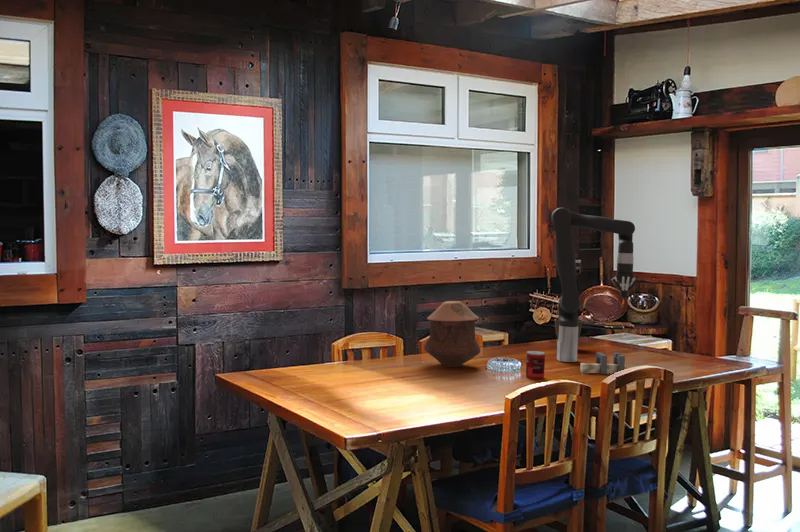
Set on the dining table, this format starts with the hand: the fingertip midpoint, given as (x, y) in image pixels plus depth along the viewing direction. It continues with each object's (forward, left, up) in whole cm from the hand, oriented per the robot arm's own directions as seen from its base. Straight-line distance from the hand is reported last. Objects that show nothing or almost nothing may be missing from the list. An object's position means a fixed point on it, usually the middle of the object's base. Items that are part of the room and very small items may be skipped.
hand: (623, 298), depth 375 cm
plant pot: (-16, +42, -32) cm, 55 cm away
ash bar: (-16, -26, -32) cm, 44 cm away
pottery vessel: (-84, -17, -32) cm, 92 cm away
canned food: (-50, -40, -32) cm, 72 cm away
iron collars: (-13, -25, -32) cm, 43 cm away
